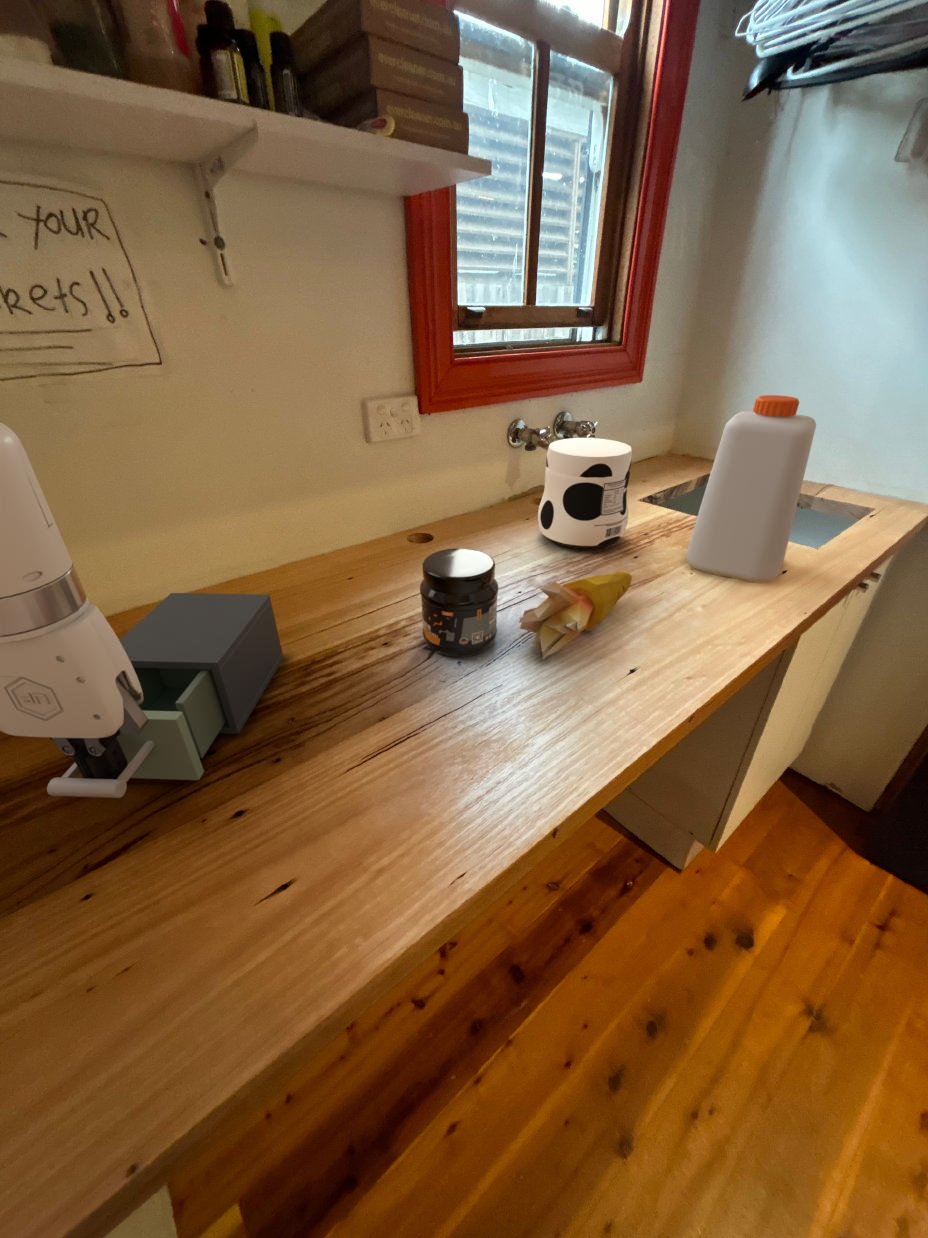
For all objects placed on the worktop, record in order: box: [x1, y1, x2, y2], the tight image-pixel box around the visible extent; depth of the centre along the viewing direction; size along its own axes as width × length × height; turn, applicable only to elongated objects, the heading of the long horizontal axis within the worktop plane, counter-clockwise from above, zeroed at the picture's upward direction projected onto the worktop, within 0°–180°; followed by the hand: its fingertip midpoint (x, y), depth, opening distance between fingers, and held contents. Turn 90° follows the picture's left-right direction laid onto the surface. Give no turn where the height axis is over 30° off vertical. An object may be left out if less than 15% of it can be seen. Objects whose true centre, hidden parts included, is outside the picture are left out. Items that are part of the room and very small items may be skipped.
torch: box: [518, 570, 633, 660], centre depth 77 cm, size 8×8×25 cm
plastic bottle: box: [685, 394, 817, 583], centre depth 90 cm, size 15×15×28 cm
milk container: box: [537, 437, 633, 549], centre depth 103 cm, size 17×17×18 cm
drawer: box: [46, 668, 227, 799], centre depth 54 cm, size 20×12×8 cm, turn 177°
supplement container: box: [419, 547, 499, 658], centre depth 73 cm, size 10×10×12 cm
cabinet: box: [119, 592, 284, 735], centre depth 64 cm, size 15×13×10 cm
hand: (109, 776), depth 48 cm, fingers closed
